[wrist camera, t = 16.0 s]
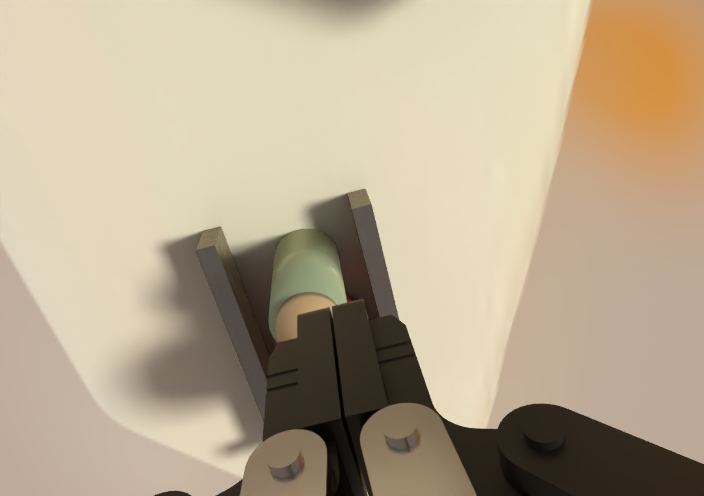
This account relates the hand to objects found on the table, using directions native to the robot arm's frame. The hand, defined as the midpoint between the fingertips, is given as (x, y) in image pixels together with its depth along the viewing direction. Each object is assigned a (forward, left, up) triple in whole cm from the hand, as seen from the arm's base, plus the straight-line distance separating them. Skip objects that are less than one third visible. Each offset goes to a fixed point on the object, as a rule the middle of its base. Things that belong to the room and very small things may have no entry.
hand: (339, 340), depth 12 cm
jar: (+8, -3, -23) cm, 25 cm away
